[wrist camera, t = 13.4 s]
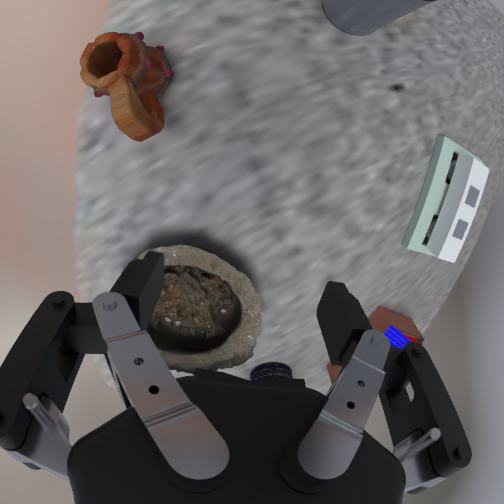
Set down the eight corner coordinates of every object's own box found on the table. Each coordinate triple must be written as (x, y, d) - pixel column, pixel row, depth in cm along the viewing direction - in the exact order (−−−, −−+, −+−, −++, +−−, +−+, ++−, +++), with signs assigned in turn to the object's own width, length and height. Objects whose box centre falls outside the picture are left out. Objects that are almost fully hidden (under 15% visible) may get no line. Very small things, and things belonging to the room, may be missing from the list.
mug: (116, 65, 29) (59, 48, 16) (164, 39, 28) (123, 4, 15) (148, 145, 35) (98, 162, 22) (198, 121, 34) (169, 123, 21)
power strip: (448, 149, 35) (474, 158, 29) (464, 160, 36) (490, 169, 30) (417, 240, 43) (438, 258, 37) (434, 245, 44) (454, 263, 38)
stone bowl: (177, 356, 55) (166, 387, 47) (108, 262, 46) (84, 287, 38) (283, 322, 50) (287, 357, 42) (221, 203, 41) (211, 221, 33)
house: (412, 317, 53) (434, 352, 42) (360, 372, 61) (373, 408, 50) (378, 303, 50) (401, 343, 40) (324, 365, 58) (335, 405, 48)
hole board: (437, 134, 34) (444, 136, 33) (476, 159, 36) (483, 162, 34) (401, 243, 44) (406, 248, 42) (442, 255, 45) (447, 259, 43)
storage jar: (268, 390, 62) (272, 441, 49) (241, 374, 58) (240, 430, 45) (300, 373, 59) (309, 427, 46) (274, 355, 55) (280, 414, 42)
